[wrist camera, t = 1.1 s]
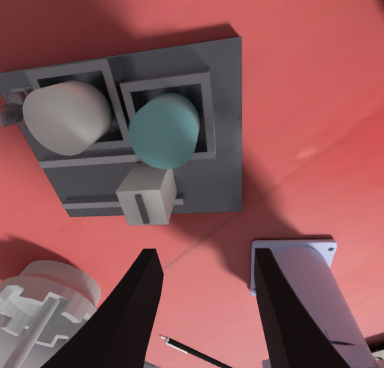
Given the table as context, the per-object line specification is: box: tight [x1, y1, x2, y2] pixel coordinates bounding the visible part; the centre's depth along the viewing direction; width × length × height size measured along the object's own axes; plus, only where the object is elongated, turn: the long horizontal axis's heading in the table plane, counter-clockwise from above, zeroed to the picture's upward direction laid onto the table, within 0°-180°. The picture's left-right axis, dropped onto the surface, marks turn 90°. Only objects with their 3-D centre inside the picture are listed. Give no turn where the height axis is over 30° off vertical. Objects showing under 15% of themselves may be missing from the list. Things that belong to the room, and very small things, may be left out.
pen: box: [160, 335, 232, 368], centre depth 40 cm, size 1×19×1 cm, turn 51°
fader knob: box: [116, 163, 177, 225], centre depth 17 cm, size 3×3×4 cm
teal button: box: [128, 92, 200, 169], centre depth 13 cm, size 4×4×3 cm
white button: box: [23, 80, 112, 156], centre depth 13 cm, size 4×4×3 cm
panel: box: [0, 36, 242, 217], centre depth 17 cm, size 13×17×3 cm
